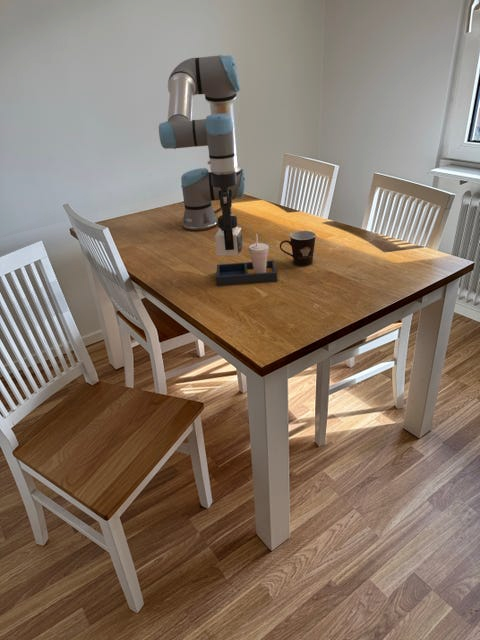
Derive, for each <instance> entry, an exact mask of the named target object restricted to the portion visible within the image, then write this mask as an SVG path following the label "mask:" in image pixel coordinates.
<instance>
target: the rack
mask: <svg viewBox="0 0 480 640" xmlns="http://www.w3.org/2000/svg"><path fill="white" fill-rule="evenodd" d="M275 263H276V262H275V260H267V265H266V273H254V268H253V263H252V261H246V262H234V263H221V264H220V263H218V264H217V265H216V274H215V275H216V276H215V277H216V286H218V287H219V286H231V285H243V284H244V285H246V284H257V283H270V282H278V281H277V280H278V275H277V274H278V272H277V268H276V264H275Z"/></svg>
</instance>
